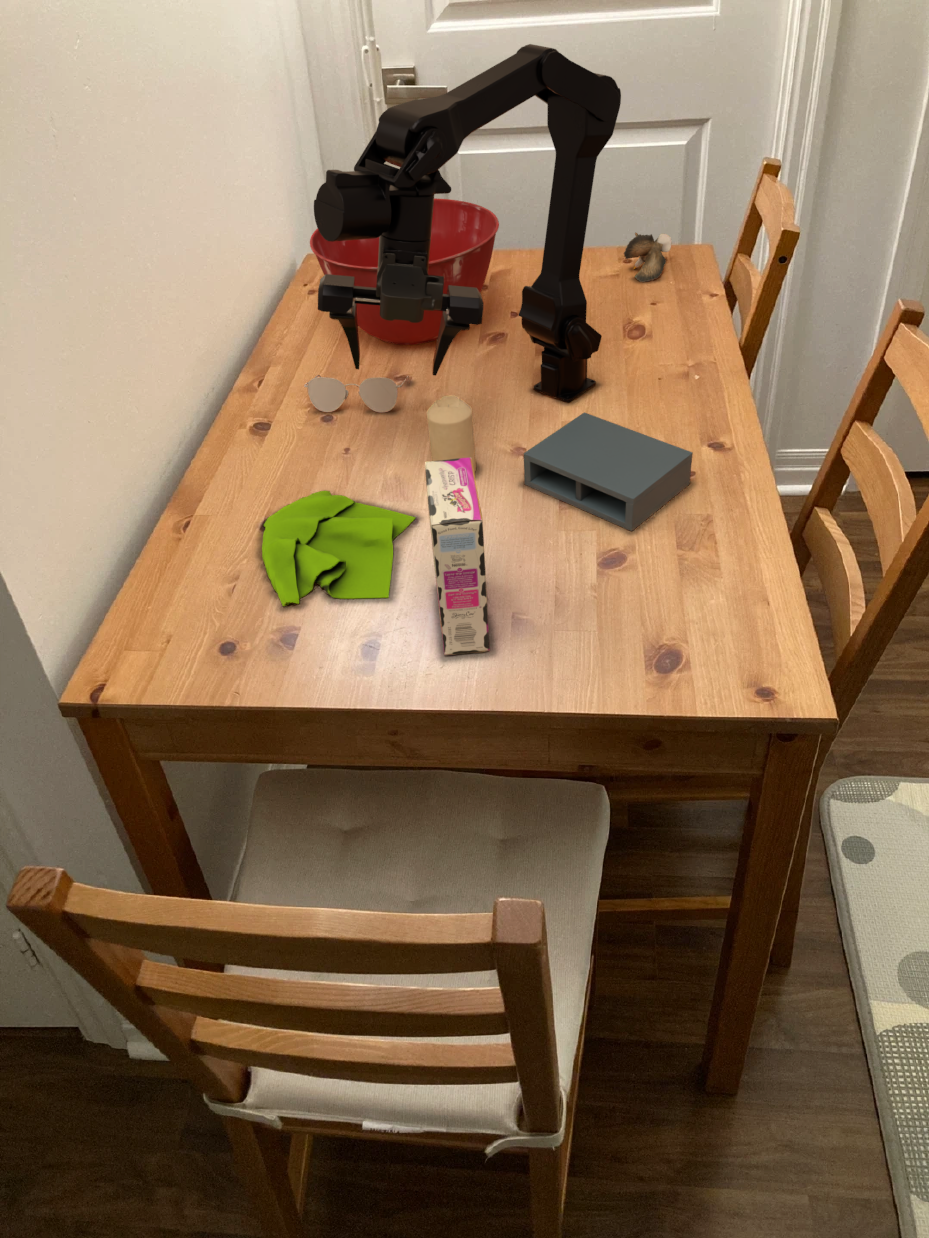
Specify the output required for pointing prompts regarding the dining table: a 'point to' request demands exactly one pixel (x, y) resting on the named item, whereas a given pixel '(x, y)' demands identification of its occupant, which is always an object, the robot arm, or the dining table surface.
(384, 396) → the sunglasses
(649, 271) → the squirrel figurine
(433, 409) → the candle
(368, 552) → the cloth
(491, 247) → the mixing bowl
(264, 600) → the dining table surface
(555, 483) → the shelf
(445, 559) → the candy bar box
